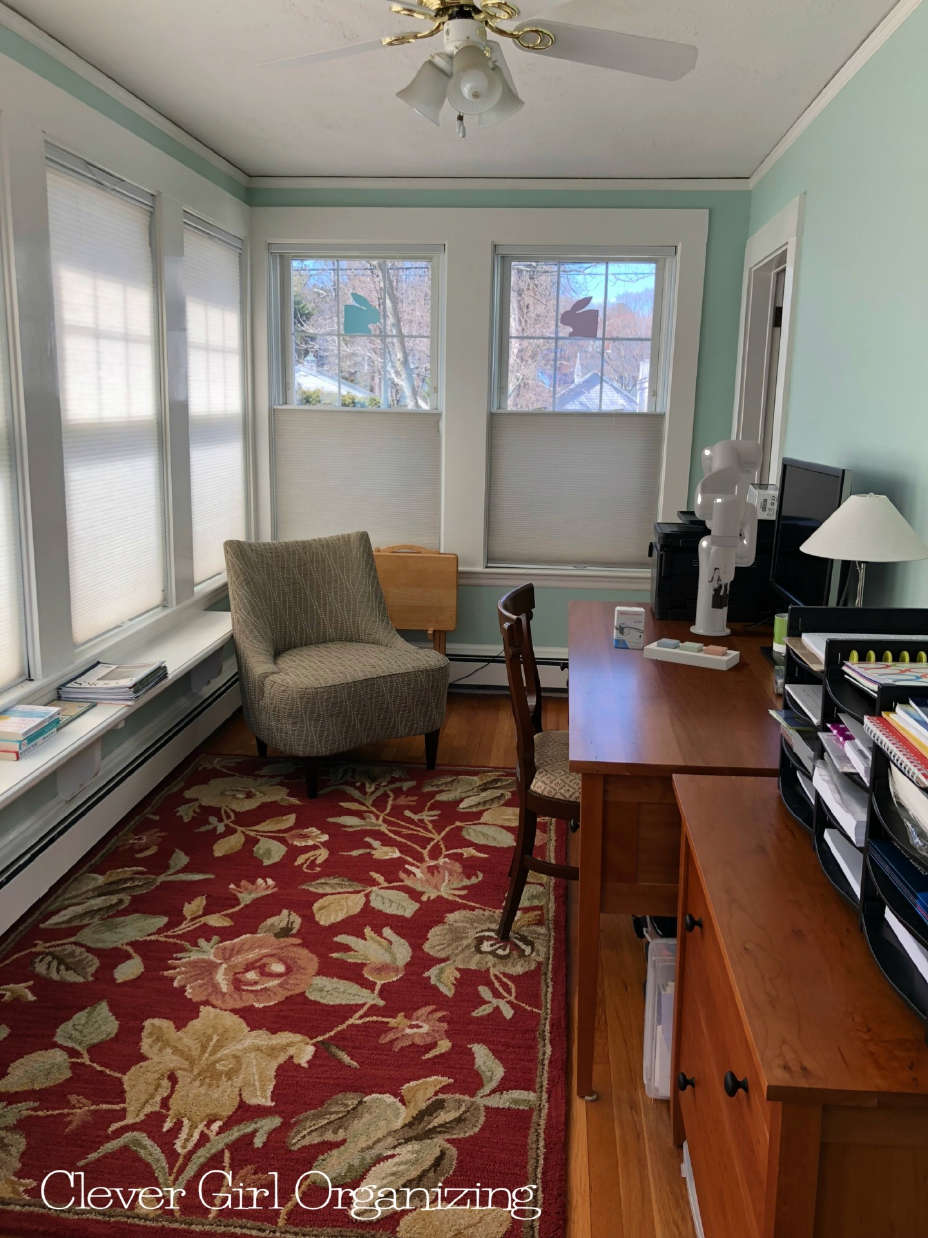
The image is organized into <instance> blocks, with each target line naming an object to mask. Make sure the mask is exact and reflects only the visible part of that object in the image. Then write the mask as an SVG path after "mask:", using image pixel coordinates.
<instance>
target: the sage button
mask: <svg viewBox="0 0 928 1238" xmlns="http://www.w3.org/2000/svg"><path fill="white" fill-rule="evenodd" d="M703 647H704V643H699V642H698V643H697V642H692V641H691V642H690V641H684V642H683V644H681V645H680V650H682V651H689V652H695V653H699V652H701V651H702V650H703Z"/></svg>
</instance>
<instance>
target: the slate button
mask: <svg viewBox="0 0 928 1238" xmlns="http://www.w3.org/2000/svg"><path fill="white" fill-rule="evenodd" d="M680 643H681V640H677V639H670V638H662V639H659V640H657V647H662V648H669V649H676V648H678V647H679V646H680Z"/></svg>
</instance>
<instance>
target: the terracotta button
mask: <svg viewBox="0 0 928 1238" xmlns="http://www.w3.org/2000/svg"><path fill="white" fill-rule="evenodd" d="M705 647H706V648H704V654H709V655H715V656H722V657H723V656H724V655H726V654H727V650H728V647H724V646H720V645H719V646H718V645H712V644H710V645H708V646H705Z"/></svg>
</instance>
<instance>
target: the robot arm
mask: <svg viewBox="0 0 928 1238" xmlns="http://www.w3.org/2000/svg"><path fill="white" fill-rule="evenodd" d="M763 456H764V453H763V448H762V445H761V443H759V442H758V441H756V440H747V439H745V440H744V439H724V440H723V439H722V440H720V441H717V442H716V443H715V444H714V445H710V446H706V447H705V448H703V449H702V452H701V467H702V470H703V473H704V477H702V479H701V480H700V481H699V483H698V484H697V486H696V488H695V493H694V506H693V507H694V515H695V517H696V518H698V520H702V521H705V525H706V527H707V529H709V530H711V533H710V535H705V536H703V537H701V539H700V541H699V544H698V561H699V564H698V565H699V568H698V569H699V572H698V573H699V574H698V575H699V576H698V586H697V587H698V589H697V600H696V617H695V625H692V626H691V627H690V629H689V631H690V632H691V633H694V634H697V635H702V636H708V637H709V636H710V637H721V636H722V637H724V636H728V635H731V629H729V628H728V627H726V625H727V614H728V605H729V604H728V602H729V592H730V584H731V581H734V577H735V568H736V567H750V566H751V565H753V563H754V561H755V557H756V547H757V536H758V535H757V533H758V518H759V517H758V516H759V515H758V514H759V513H758V509H757V507H756V505H755V504H754V503H752V502H749V501H746V499H745V497H744V496H742V495H740V494H736V487H737V486H738V485H739V483H740V482H741V480H742V475H753V474H755V473H757V471H758V470H759V469H760V468H761V465H762V463H763ZM740 535H741V536H740Z"/></svg>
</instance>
